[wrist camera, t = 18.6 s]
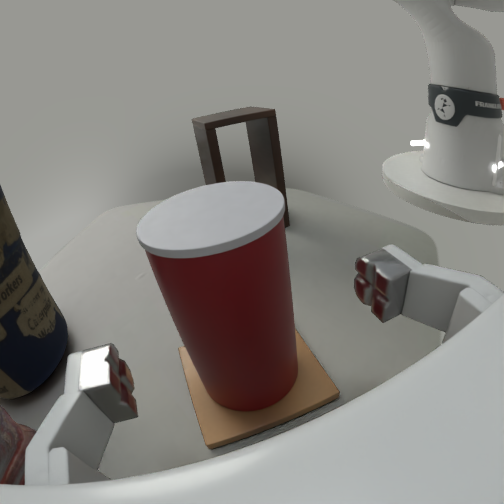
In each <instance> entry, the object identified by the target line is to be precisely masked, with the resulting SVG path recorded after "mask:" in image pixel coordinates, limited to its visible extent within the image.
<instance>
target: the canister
mask: <svg viewBox="0 0 504 504" xmlns="http://www.w3.org/2000/svg"><path fill="white" fill-rule="evenodd" d="M67 340H68V331H67V324H66V321H65V319H64V316H63V315H62V313H61V311H60V309H59V308H58V306H57V304H56V303H55V301H54V299H53V298H52V296H51V294H50V293H49V291H48V289H47V287H46V285H45V284H44V282H43V280H42V278H41V276H40V274H39V272H38V271H37V269H36V267H35V265H34V263H33V261H32V259H31V257H30V255H29V253H28V251H27V249H26V247H25V245H24V243H23V241H22V239H21V236H20V232H19V229H18V227H17V225H16V223H15V220H14V218H13V216H12V214H11V211H10V209H9V206H8V204H7V201H6V199H5V196H4V193H3V191H2V188H1V186H0V398H5V399H14V398H17V397H21V396H23V395H26V394H28V393H30V392H31V391H33V390H34V389H36V388H37V387H38V386H40V385H41V384H42V383H43V382H44V381H45V380H46V379H47V378H48V377H49V376H50V375H51V374H52V372H53V371H54V370H55V368H56V367H57V365H58V363H59V362H60V360H61V358H62V356H63V354H64V351H65V348H66V344H67Z"/></svg>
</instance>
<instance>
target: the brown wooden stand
mask: <svg viewBox="0 0 504 504" xmlns="http://www.w3.org/2000/svg"><path fill="white" fill-rule="evenodd" d="M241 122H246V127H247V133H248V139H249V145H250V151H251V157H252V164H253V170H254V176H255V182H257V183H263V184H267V185H269V186H272V187H274V188H276V189H277V190H279V191H280V192H281V194H282V195H283V197H284V200H285V212H284V215H283V217H284V226H285V227H287V226H290V224H289V215H288V206H287V197H286V189H285V180H284V172H283V164H282V156H281V149H280V141H279V134H278V127H277V119H276V113H275V109H268V108H259V107H246V108H240V109H235V110H230V111H225V112H220V113H216V114H211V115H207V116H202V117H198V118H194V119H192V123H193V127H194V132H195V137H196V141H197V146H198V151H199V156H200V160H201V165H202V169H203V174H204V178H205V183H206V185H210V184H215V183H222V182H226V181H225V176H224V171H223V166H222V161H221V156H220V151H219V146H218V141H217V135H216V130H215V128H218V127H222V126H227V125H231V124H236V123H241Z"/></svg>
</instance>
